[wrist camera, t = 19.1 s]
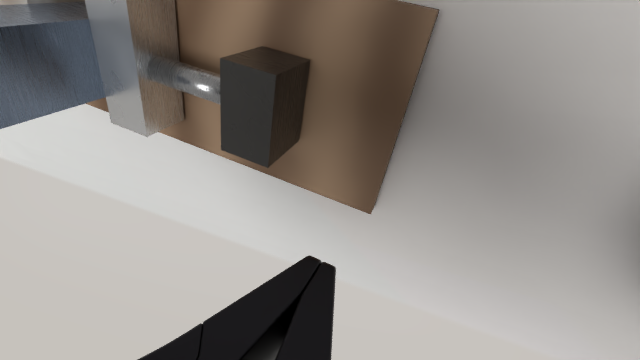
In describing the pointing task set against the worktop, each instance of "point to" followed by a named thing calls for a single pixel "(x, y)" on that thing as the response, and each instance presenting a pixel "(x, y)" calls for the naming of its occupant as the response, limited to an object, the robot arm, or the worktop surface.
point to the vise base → (312, 81)
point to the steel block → (46, 60)
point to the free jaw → (195, 81)
